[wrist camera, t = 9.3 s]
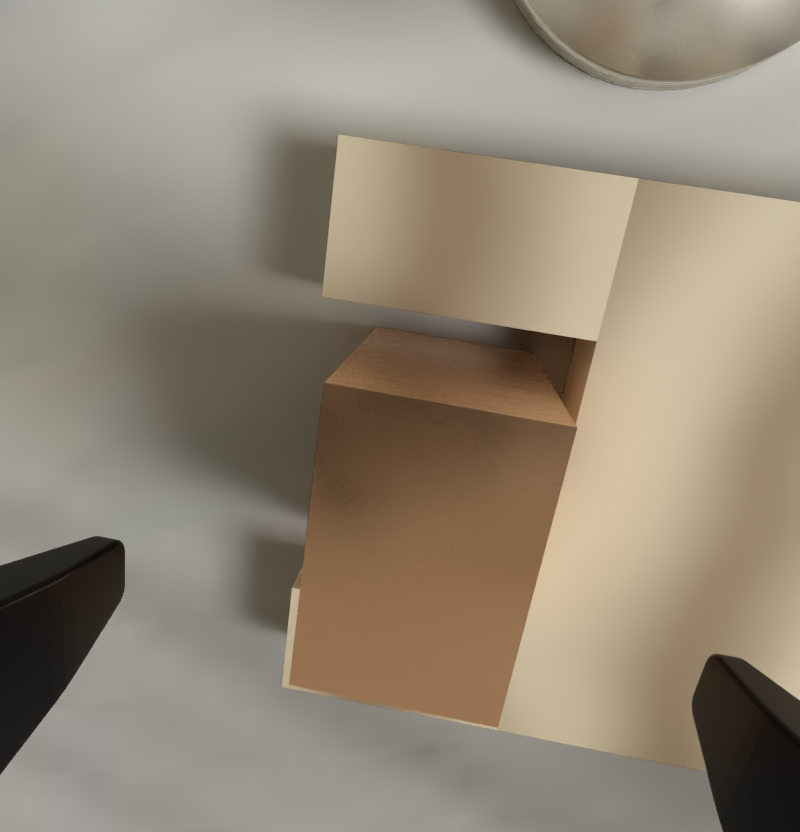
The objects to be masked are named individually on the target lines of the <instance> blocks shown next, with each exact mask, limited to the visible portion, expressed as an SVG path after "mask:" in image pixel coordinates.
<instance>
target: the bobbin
mask: <svg viewBox="0 0 800 832" xmlns="http://www.w3.org/2000/svg"><path fill="white" fill-rule="evenodd" d="M515 2H516V4H517V6H518V8H519V10H520V11H521V13H522V14H523V16H524V17H525V18H526V20H527V21H528V23H529V24H530V25H531V27H532V28H533V30H534V31H535V32H536V33H537V34H538V35H539V36H540V37H541V38H542V39H543V40H544V42H545V43H546V44H547V45H548V46H549V47H550V48H551V49H552V50H554V51H555V52H556V53H557V54H559V55H560V56H561V57H563V58H564V59H565V60H566V61H568V62H569V63H570V64H572V65H574V66H575V67H577V68H579V69H581V70H582V71H584V72H586V73H588V74H590V75H591V76H594V77H597V78H599V79H602V80H605V81H607V82H610V83H612V84H616V85H621V86H626V87H630V88H635V89H645V90H660V91H663V90H676V89H688V88H693V87H697V86H702V85H707V84H711V83H715V82H718V81H720V80H723V79H726V78H729V77H732V76H735V75H737V74H740V73H742V72H744V71H746V70H748V69H750V68H752V67H754V66H756V65H758V64H760V63H762V62H764V61H766V60H767V59H769V58H771V57H773V56H774V55H776V54H778V53H780V52H781V51H783V50H785V49H787V48H788V47H790V46H792V45H793V44H795V43H796V42H798V41H799V40H800V0H515Z"/></svg>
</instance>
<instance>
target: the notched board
mask: <svg viewBox="0 0 800 832" xmlns="http://www.w3.org/2000/svg"><path fill="white" fill-rule="evenodd" d="M322 297H327V298H333V299H339V300H345V301H351V302H357V303H364V304H370V305H376V306H382V307H388V308H394V309H400V310H407V311H413V312H419V313H425V314H431V315H437V316H444V317H450V318H456V319H462V320H468V321H474V322H481V323H487V324H493V325H499V326H505V327H511V328H517V329H524V330H530V331H536V332H542V333H548V334H554V335H561V336H567V337H573V338H576V341H575V346H574V350H573V354H572V358H571V362H570V366H569V370H568V374H567V378H566V382H565V386H564V391H563V395H562V399H561V401H562V403H563V404H564V406H565V408H566V409H567V411H568V413H569V414H570V416H571V418H572V419H573V421H574V423H575V424H576V426H577V431H576V435H575V439H574V443H573V446H572V450H571V454H570V458H569V461H568V465H567V469H566V473H565V477H564V480H563V484H562V488H561V492H560V495H559V499H558V503H557V507H556V510H555V514H554V518H553V522H552V526H551V529H550V533H549V537H548V541H547V544H546V548H545V552H544V556H543V559H542V563H541V567H540V571H539V575H538V578H537V582H536V586H535V590H534V593H533V597H532V601H531V605H530V609H529V612H528V616H527V620H526V624H525V627H524V631H523V635H522V639H521V642H520V646H519V650H518V654H517V658H516V661H515V665H514V669H513V673H512V676H511V680H510V684H509V688H508V691H507V695H506V699H505V703H504V707H503V710H502V714H501V718H500V722H499V725H498V728H496V727H491V726H486V725H481V724H477V723H472V722H467V721H462V720H457V719H452V718H447V717H443V716H438V715H433V714H428V713H423V712H418V711H413V710H409V709H404V708H399V707H394V706H389V705H384V704H379V703H375V702H370V701H365V700H360V699H355V698H350V697H345V696H341V695H336V694H331V693H326V692H321V691H316V690H311V689H307V688H302V687H297V686H292V685H289V680H290V671H291V663H292V654H293V645H294V637H295V628H296V620H297V611H298V602H299V594H300V585H301V577H302V568H303V566H302V568H301V570H300V572H299V574H298V576H297V578H296V580H295V582H294V584H293V586H292V592H291V601H290V611H289V621H288V631H287V640H286V650H285V660H284V670H283V679H282V687H284V688H289V689H294V690H299V691H304V692H309V693H314V694H319V695H324V696H329V697H334V698H339V699H344V700H349V701H354V702H359V703H364V704H369V705H374V706H379V707H384V708H389V709H394V710H399V711H404V712H409V713H414V714H419V715H424V716H429V717H434V718H439V719H444V720H449V721H454V722H458V723H463V724H468V725H473V726H478V727H483V728H488V729H493V730H498V731H503V732H508V733H513V734H518V735H523V736H528V737H533V738H538V739H543V740H548V741H553V742H558V743H563V744H568V745H573V746H578V747H583V748H588V749H593V750H598V751H603V752H608V753H613V754H618V755H623V756H628V757H633V758H638V759H643V760H648V761H653V762H658V763H663V764H668V765H673V766H678V767H683V768H688V769H693V770H698V771H703V772H707V770H706V766H705V762H704V759H703V755H702V751H701V747H700V743H699V739H698V735H697V731H696V727H695V723H694V719H693V714H692V697H693V694H694V691H695V689H696V686H697V684H698V681H699V678H700V676H701V673H702V671H703V668H704V665H705V663H706V661H707V659H708V657H709V656H710V655H712V654H715V653H717V654H723V655H728V656H734V657H739V658H741V659H744V660H745V661H747V662H748V663H749V664H751V665H752V666H754V667H755V668H756V669H758V670H759V671H760V672H762V673H763V674H765V675H766V676H767V677H769V678H770V679H771V680H773V681H774V682H775V683H777V684H778V685H780V686H781V687H782V688H784V689H785V690H786V691H788V692H789V693H791V694H792V695H793V696H795V697H796V698H797V699H799V700H800V202H795V201H788V200H782V199H775V198H768V197H761V196H754V195H747V194H741V193H734V192H727V191H720V190H713V189H707V188H700V187H693V186H686V185H679V184H673V183H666V182H659V181H652V180H645V179H639V178H632V177H625V176H618V175H611V174H604V173H598V172H591V171H584V170H577V169H570V168H564V167H557V166H550V165H543V164H536V163H530V162H523V161H516V160H509V159H502V158H496V157H489V156H482V155H475V154H468V153H461V152H455V151H448V150H441V149H434V148H427V147H421V146H414V145H407V144H400V143H393V142H387V141H380V140H373V139H366V138H359V137H353V136H346V135H339V134H338V144H337V154H336V163H335V173H334V183H333V193H332V202H331V212H330V222H329V232H328V241H327V251H326V261H325V270H324V280H323V290H322Z"/></svg>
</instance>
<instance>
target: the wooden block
mask: <svg viewBox="0 0 800 832" xmlns="http://www.w3.org/2000/svg"><path fill="white" fill-rule="evenodd" d="M576 431H577V426H576V424H575V423H574V421H573V419H572V418H571V416H570V414H569V413H568V411H567V409H566V408H565V406H564V404H563V403H562V401H561V399H560V398H559V396H558V394H557V393H556V391H555V389H554V388H553V386H552V384H551V383H550V381H549V379H548V378H547V376H546V374H545V373H544V371H543V369H542V368H541V366H540V364H539V363H538V361H537V359H536V358H535V356H534V354H533V353H529V352H523V351H518V350H512V349H506V348H500V347H494V346H488V345H482V344H477V343H471V342H465V341H459V340H453V339H447V338H442V337H436V336H430V335H424V334H418V333H412V332H407V331H401V330H395V329H389V328H383V327H376V328H375V329H374V330H373V331H372V332H371V333H370V335H369V336H368V337H367V338H366V339H365V340H364V341H363V342H362V343H361V344H360V345H359V346H358V347H357V348H356V349H355V350H354V351H353V353H352V354H351V355H350V356H349V357H348V358H347V359H346V360H345V361H344V362H343V363H342V364H341V365H340V366H339V367H338V368H337V369H336V370H335V372H334V373H333V374H332V375H331V376H330V377H329V378H328V379H327V380H326V381H325V382H324V387H323V396H322V405H321V413H320V422H319V430H318V439H317V448H316V456H315V465H314V473H313V482H312V491H311V499H310V508H309V516H308V525H307V534H306V542H305V551H304V559H303V568H302V577H301V585H300V594H299V602H298V611H297V620H296V628H295V637H294V645H293V654H292V663H291V671H290V680H289V685H292V686H297V687H302V688H307V689H311V690H316V691H321V692H326V693H331V694H336V695H341V696H345V697H350V698H355V699H360V700H365V701H370V702H375V703H379V704H384V705H389V706H394V707H399V708H404V709H409V710H413V711H418V712H423V713H428V714H433V715H438V716H443V717H447V718H452V719H457V720H462V721H467V722H472V723H477V724H481V725H486V726H491V727H496V728H498V725H499V722H500V718H501V714H502V710H503V707H504V703H505V699H506V695H507V691H508V688H509V684H510V680H511V676H512V673H513V669H514V665H515V661H516V658H517V654H518V650H519V646H520V642H521V639H522V635H523V631H524V627H525V624H526V620H527V616H528V612H529V609H530V605H531V601H532V597H533V593H534V590H535V586H536V582H537V578H538V575H539V571H540V567H541V563H542V559H543V556H544V552H545V548H546V544H547V541H548V537H549V533H550V529H551V526H552V522H553V518H554V514H555V510H556V507H557V503H558V499H559V495H560V492H561V488H562V484H563V480H564V477H565V473H566V469H567V465H568V461H569V458H570V454H571V450H572V446H573V443H574V439H575V435H576Z"/></svg>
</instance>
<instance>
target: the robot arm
mask: <svg viewBox="0 0 800 832" xmlns="http://www.w3.org/2000/svg"><path fill="white" fill-rule="evenodd" d="M124 588H125V549H124V545H123V543H122V542H121V541H120V540H116V539H110V538H105V537H100V536H94V537H91V538H87V539H84V540H81V541H78V542H75V543H71V544H68V545H65V546H62V547H59V548H55V549H52V550H49V551H46V552H42V553H39V554H36V555H33V556H30V557H26V558H23V559H20V560H17V561H14V562H10V563H7V564H4V565H1V566H0V774H1V773H2V772H3V771H4V769H5V768H6V767H7V765H8V764H9V763H10V761H11V760H12V759H13V757H14V756H15V755H16V754H17V752H18V751H19V750H20V748H21V747H22V746H23V744H24V743H25V742H26V740H27V739H28V738H29V737H30V735H31V734H32V733H33V731H34V730H35V729H36V727H37V726H38V725H39V723H40V722H41V721H42V720H43V718H44V717H45V716H46V714H47V713H48V712H49V710H50V709H51V708H52V706H53V705H54V704H55V703H56V701H57V700H58V698H59V697H60V696H61V694H62V693H63V692H64V690H65V689H66V687H67V686H68V684H69V683H70V681H71V680H72V678H73V677H74V675H75V674H76V672H77V671H78V669H79V667H80V666H81V664H82V662H83V661H84V659H85V658H86V656H87V654H88V653H89V651H90V650H91V648H92V646H93V645H94V643H95V641H96V640H97V638H98V637H99V635H100V633H101V632H102V630H103V629H104V627H105V625H106V624H107V622H108V620H109V619H110V617H111V616H112V614H113V612H114V611H115V609H116V608H117V606H118V604H119V603H120V601H121V598H122V596H123V593H124ZM692 714H693V719H694V723H695V727H696V731H697V735H698V739H699V743H700V747H701V751H702V755H703V759H704V762H705V766H706V770H707V774H708V778H709V782H710V786H711V790H712V794H713V798H714V802H715V806H716V809H717V813H718V816H719V820H720V823H721V826H722V829H723V832H800V700H799V699H797V698H796V697H795V696H793V695H792V694H791V693H789V692H788V691H786V690H785V689H784V688H782V687H781V686H780V685H778V684H777V683H775V682H774V681H773V680H771V679H770V678H769V677H767V676H766V675H765V674H763V673H762V672H760V671H759V670H758V669H756V668H755V667H754V666H752V665H751V664H749V663H748V662H747V661H745V660H744V659H741V658H739V657H734V656H728V655H723V654H717V653H715V654H712V655H710V656H709V657H708V659H707V661H706V663H705V665H704V668H703V671H702V673H701V676H700V678H699V681H698V684H697V686H696V689H695V691H694V694H693V697H692Z"/></svg>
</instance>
